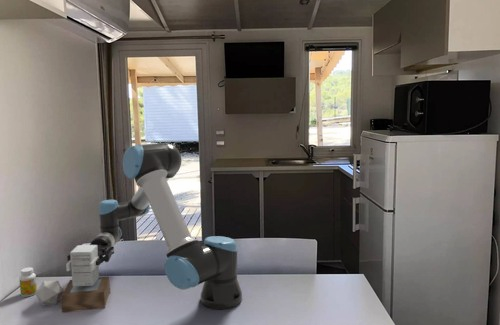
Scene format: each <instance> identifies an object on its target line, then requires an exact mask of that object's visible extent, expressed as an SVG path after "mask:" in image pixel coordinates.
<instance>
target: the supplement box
mask: <svg viewBox="0 0 500 325" xmlns="http://www.w3.org/2000/svg"><path fill="white" fill-rule="evenodd" d="M69 254H70V257H71V270H70V271H71V280H72V284H73V286H92V285H94V283H95V282H96V281H97V279H98V278H99V277H100V265H97V267H96V268H95V269H94V270H93V271H90V263H91V262H92V261H93V260H94V259H95V258H96V257H97V256H98V248H97V245H90V244H84V245H83V244H82V245H80V244H79V245H78V244H77V245H76V246H75V247H74V248H72V250H71V251H70V253H69Z"/></svg>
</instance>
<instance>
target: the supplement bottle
mask: <svg viewBox="0 0 500 325" xmlns="http://www.w3.org/2000/svg"><path fill="white" fill-rule="evenodd" d="M20 274H21V275H20V276H19V288H20V289H19V290H20V296H21V297H23V298H26V297H32V296H35V292H36V291H37V290H38V288H37V277H36V276H37V275H36V273H34V267H31V266H30V267H23V268H21V270H20Z"/></svg>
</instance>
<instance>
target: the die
mask: <svg viewBox="0 0 500 325" xmlns="http://www.w3.org/2000/svg"><path fill="white" fill-rule="evenodd" d="M64 290H65V289H63V287H62V285H61V283H60V281H59V280H43V282H42V283H41V284H40V285H39V287H38V288H37V291H36V292H35V294H34V296H36V298H37V299H38V301H39V303H40V305H57V303H58V301H59V300H61V295H62V293H63V292H64Z"/></svg>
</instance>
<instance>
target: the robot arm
mask: <svg viewBox="0 0 500 325" xmlns="http://www.w3.org/2000/svg"><path fill="white" fill-rule="evenodd" d="M181 165H182V155H181V153H180V151H179V149H178V148H177V147H175V146H174V145H173V144H171V143H168V142H161V143H149V144H137V145H131V146H129V147H128V148H126V150H125V151H124V154H123V158H122V170H123V173H124V176H125V177H126V178H128V179H130V180H134V181H135V184H136V185H137V187H139V188H138V189H137V191H136V192H135V193H134V195H133V196H132V198H131V199H130V200H127V201H124V202H118V200H116V199H105V200H102V201H100V202H99V204H98V216H99V224H100V225H99V226H100V227H99V231H100V233H99V234H98V235H97V236H96V237H95V238H94V239H93V240H92V241H91V242H90V243H89V245H97V248H98V256H97V257H96V258H95V259H94V260H93V261H92V262H91V263H90V271H93V270H94V269H95V268H96V267H97V265H99V266H100V265H101V264H103V263H109V262H110V259H111V257H112V255H113V254H115V247H114V246H115V245H116V243H118V242H119V241H120V239H121V237H122V235H123V234H122V233H123V232H122V229H121V228H120V226H119V225H120V224H119V222H120V221H125V220H128V219H133V218H137V217H142V216H145V215H147V214H148V213H149V212H150V208H151V210H152V213H153V215H154V218H155V220H156V221H157V224H158V226H159V229H160V231H161V234H162V236H163V238H164V241H165V243H166V246H167V252H166V253H165V254H166V260H165V261H164V272H165V275H166V277H167V279H168V281H169V283H171V284H172V285H173V286H174V287H175V288H177V289H179V290H188V289H190V288H191V289H192V288H195V287H196V286H198V285H200V284H203V286H202V288H201V292H200V302H201V305H203V306H204V307H206V308H208V309H214V310H226V309H227V310H228V309H231V308H234V307H236V306H238V305H240V304H241V303H242V301H243V291H242V289H241V286H240V283H239V281H238V248H237V247H238V246H237V241H236V240H234V238H231V237H228V236H227V237H226V236H222V235H221V236H220V235H217V236H216V235H214V236H207V237H206V238H204V241H203V245H201V243H200V241H199V240H198V239H197V238H194V237H192V235H191V232H190V230H189V228H188V226H187V223H186V222H185V219H184V216H183V214H182V211H181V210H180V208H179V205H178V204H177V201H176V198H175V196H174V194H173V192H172V190H171V187H170V185H169V183H168V181H169V179H172V178H174V177H175V176H176V175H177V174H178V172H179V171H180V168H181ZM66 256H67V260H66V261H67V263H66V264H65V266H66V272H70V271H71V257H70V253H69V254H68V255H66Z"/></svg>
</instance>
